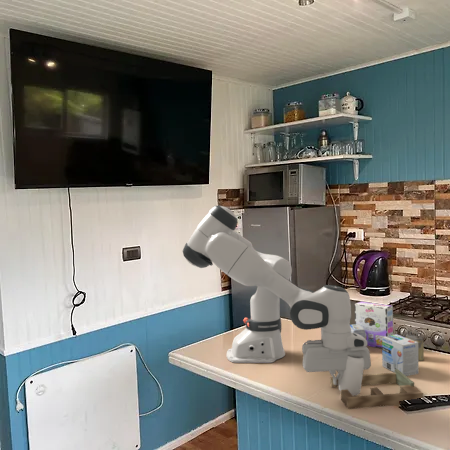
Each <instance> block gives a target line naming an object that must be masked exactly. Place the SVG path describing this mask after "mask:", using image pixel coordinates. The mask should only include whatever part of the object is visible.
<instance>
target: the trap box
mask: <svg viewBox="0 0 450 450" xmlns="http://www.w3.org/2000/svg"><path fill="white" fill-rule="evenodd" d="M329 379H330V387H331V388H339V385H334V384H333V377H332V376H330V378H329ZM386 384H397V385H398V386H399V392H396V393H386V394H385V393H384V392H382V391H381V390H380V389H379V387H375V386H374V387H369V388H370V395H357V396H352V394H351V393H350V392H349V391H348V390H347V389H346V390H341V391H340V401H341V402H342V403H343V405H344V406H345V407H346V408H347V410H350V409H351V410H352V409H365V408H376V407H391V406H392V407H393V406H400V405H399V401H403V400H411V399H417V398H423V399H424V397H423V394H424V393H423V392H422V391H421V390H420V389H419V388H417V387H416V386H415V382H414V381H413V380H412V379H410V378H409V376H405V375H404V374H403V373H402V372H400V371H399V370H398V369H395V372H384V373H383V372H382V373H368V374H363V376H362V383H361V386H369V385H370V386H372V385H386Z"/></svg>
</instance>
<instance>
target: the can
mask: <svg viewBox="0 0 450 450" xmlns="http://www.w3.org/2000/svg"><path fill="white" fill-rule="evenodd" d="M347 358H348V359H347V362H346V370H344V374H343V376H342V377H341V379H340V385H339V387H338V390H339V392H341V390H346V389H347V390H348V391H349V392H350V393H351V394H352V396H353V397H355V396H359V395H360V394H361V389H362V385H361V383H362V376H363V375H364V370H363V368H364V359H363V357H354V356H349V355H348V357H347Z"/></svg>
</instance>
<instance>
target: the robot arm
mask: <svg viewBox="0 0 450 450" xmlns="http://www.w3.org/2000/svg"><path fill="white" fill-rule="evenodd" d="M237 226H238V218H237V217H236V215H235V213H234V212H233V210H231V209H230V208H228V207H226V206H223V205H218V204H217V205H214V206H213V207H211V208H210V209H209V210H208V213H207V214H205V216H204V217H203V218H202V219H201V220H200V222H199V223H198V224H197V225H196V228H195V229H194V230H193V232H192V234H191V236H190V237H189V239H188V241H187V242H186V243H185V245H184V246H183V249H182V253H183V257H184V258H185V260H186V261H187V262H188V264H191V266H194V267H195V268H196V267H197V268H200V269H203V268H207V267H209V266H214V265H215V266H216V267H217V268H218V269H219V270H220V271H221V272H223V273H224V274H225V275H227V276H228V277H229V278H231V279H232V280H233V281H235V282H236V283H239V284H241V285H243V286H245V287H256V291H255V293H254V294H252V296H251V297H250V301H249V303H250V304H249V305H250V308H249V309H250V318H248V317H244V319H243V320H242V321H243V323H244V324H245V328H244V329H243V330H242V331H240V333H238V334H237V335H236V336H234V338H233V340H232V344H231V348H228V349H227V351H226V358H227V360H228V361H229V362H231V363H236V364H237V363H239V364H240V363H243V364H247V363H249V364H251V363H252V364H253V363H259V364H261V363H266V364H267V363H275V361H277V360H279V359H282V358H283V357H285V355H286V352H285V348H284V344H283V342H282V339H283V338H282V319H281V317H280V316H281V315H280V299H281V300H283V301H284V302H285V303H286V304H287V305H288V306H289V307H290V310H289V317H290V321H291V322H292V324H293V325H294V326H296V328H298V329H300V330H306V331H307V330H315V329H320V330H321V331H320V339H314V340H313V339H311V340H310V339H308V340H307V341H305V342H303V344H302V348H301V351H302V354H303V356H302V367H303V369H304V371H306V373H318V372H320V373H321V372H329V374H330V375H331V377H333V384H334V385H340V379H341V377H342V376H343V374H344V370H346V362H347V359H348V358H347V357H348V355H349V356H354V357H363V359H364V368H363V371H364V370H369V369H370V368H371V366H372V364H371V363H372V360H371V352H370V350H369V348H368V346H367V340H366V339H365V338H364V337H362V336H361V335H359V334H356V333H352V332H351V327H350V325H351V318H352V306H351V304H352V303H351V298H350V293H349V292H348V291H347V289H345V288H344V287H341V286H339V285H333V284H326V285H323V287H321V288H319V289H317V290H316V291H314V290H311V289H309V288H303V287H300V286H297V285H296V284H294V283H293V282H291V281H290V279H291V277H292V273H293V267H292V265H291V263H290V261H289V260H288V259H286V258H284V257H282V256H280V255H277V254H268V253H262V252H260V251H257V250H256V249H255V248H254V246H253V244H252V241H250V240H248V239H247V238H245V237H244V236H242V234H240V233H238V232H236V228H237ZM336 372H337V375H336Z"/></svg>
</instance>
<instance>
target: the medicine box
mask: <svg viewBox="0 0 450 450" xmlns="http://www.w3.org/2000/svg"><path fill="white" fill-rule="evenodd" d="M350 327H351V332H352V333H356V334H359V335H361V336H362V337H364V338H365V329H364V328H363V327H362V326H361V325H360V324H350Z"/></svg>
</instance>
